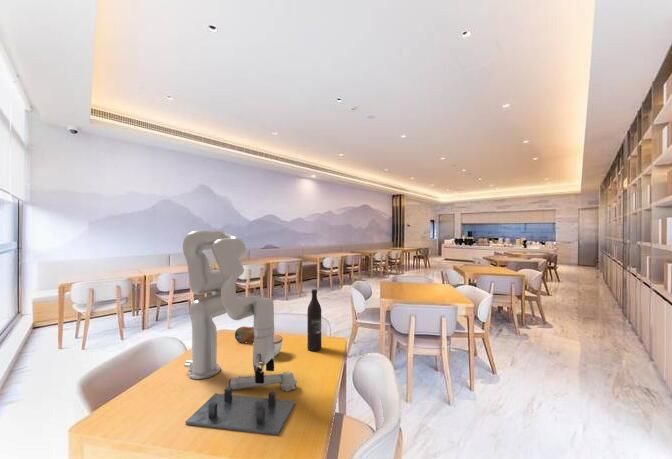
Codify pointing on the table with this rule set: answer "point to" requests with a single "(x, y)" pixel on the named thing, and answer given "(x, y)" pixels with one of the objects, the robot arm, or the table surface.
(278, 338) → the lidded jar
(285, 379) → the white handheld device
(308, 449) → the table surface
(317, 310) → the wine bottle
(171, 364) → the table surface
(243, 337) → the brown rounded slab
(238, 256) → the robot arm
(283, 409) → the peg stand
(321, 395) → the table surface
